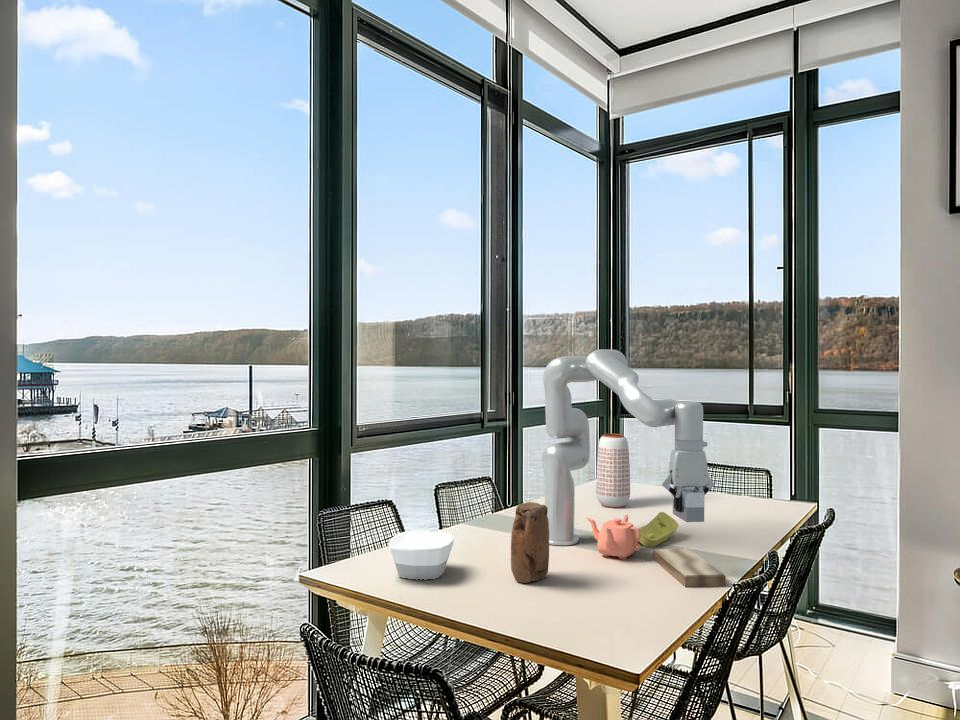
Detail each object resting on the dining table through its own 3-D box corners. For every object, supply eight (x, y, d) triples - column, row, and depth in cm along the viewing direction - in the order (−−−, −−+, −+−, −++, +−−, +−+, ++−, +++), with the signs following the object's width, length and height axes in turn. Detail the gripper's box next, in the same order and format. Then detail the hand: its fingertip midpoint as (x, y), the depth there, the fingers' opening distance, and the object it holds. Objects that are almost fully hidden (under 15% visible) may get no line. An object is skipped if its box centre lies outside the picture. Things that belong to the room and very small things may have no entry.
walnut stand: (685, 587, 182) (685, 575, 182) (653, 559, 206) (653, 549, 206) (725, 585, 183) (725, 574, 183) (689, 558, 207) (689, 548, 207)
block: (528, 570, 195) (529, 499, 195) (551, 576, 190) (552, 503, 190) (506, 581, 186) (507, 506, 186) (530, 587, 182) (530, 510, 181)
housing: (689, 513, 200) (689, 484, 200) (704, 521, 190) (704, 491, 190) (672, 513, 199) (672, 484, 199) (686, 522, 189) (686, 491, 189)
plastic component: (652, 542, 217) (627, 523, 223) (644, 560, 220) (619, 541, 226) (683, 525, 231) (659, 508, 237) (675, 543, 234) (651, 525, 240)
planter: (593, 501, 284) (594, 432, 283) (626, 502, 283) (627, 433, 283) (598, 509, 270) (598, 436, 270) (632, 509, 270) (633, 437, 269)
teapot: (606, 564, 201) (606, 526, 201) (585, 550, 215) (585, 515, 215) (651, 560, 206) (651, 523, 205) (627, 546, 219) (627, 512, 219)
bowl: (381, 582, 185) (381, 547, 185) (398, 562, 202) (398, 529, 202) (447, 585, 182) (447, 550, 182) (458, 565, 200) (458, 532, 200)
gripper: (712, 443, 199) (711, 507, 199) (654, 444, 197) (653, 508, 197) (724, 447, 191) (723, 513, 192) (663, 448, 190) (663, 514, 190)
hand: (688, 510), depth 194 cm, fingers closed on housing, 5 cm apart
